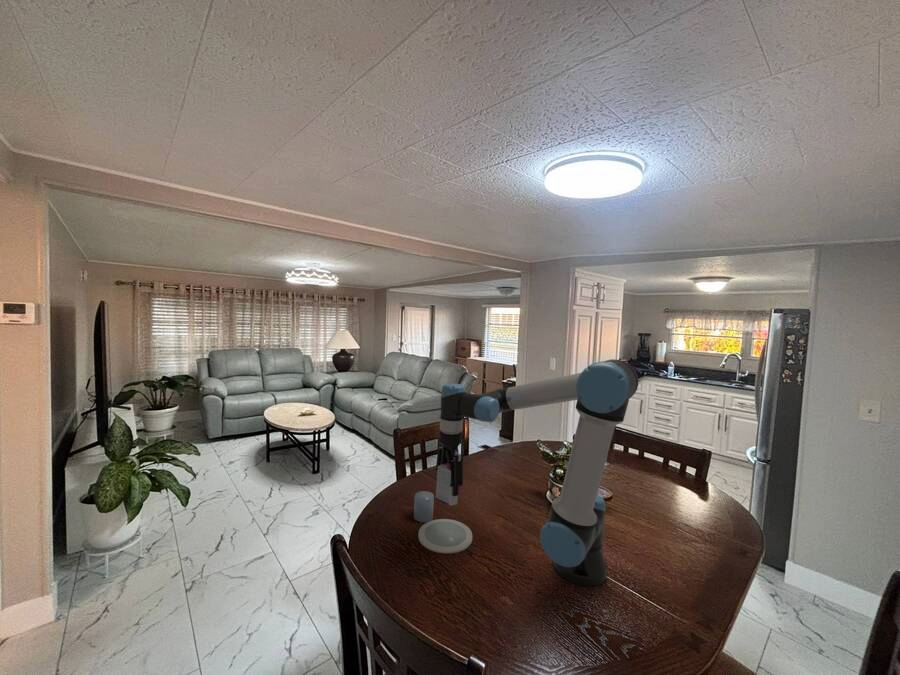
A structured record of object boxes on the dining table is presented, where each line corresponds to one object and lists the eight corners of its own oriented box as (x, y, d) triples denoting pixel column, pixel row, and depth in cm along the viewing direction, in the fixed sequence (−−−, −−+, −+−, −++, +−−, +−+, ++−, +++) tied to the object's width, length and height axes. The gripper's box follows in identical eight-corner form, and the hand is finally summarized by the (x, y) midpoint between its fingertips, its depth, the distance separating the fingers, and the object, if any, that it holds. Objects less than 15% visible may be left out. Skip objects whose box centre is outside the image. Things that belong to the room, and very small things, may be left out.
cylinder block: (436, 519, 135) (437, 498, 135) (418, 523, 132) (419, 501, 131) (428, 510, 141) (429, 489, 141) (410, 514, 138) (411, 493, 138)
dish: (482, 545, 121) (482, 541, 121) (432, 559, 113) (432, 555, 113) (456, 517, 137) (456, 514, 137) (410, 528, 129) (410, 524, 129)
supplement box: (449, 505, 120) (450, 470, 120) (435, 499, 124) (436, 465, 123) (459, 499, 125) (461, 465, 124) (445, 493, 128) (447, 460, 128)
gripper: (476, 439, 116) (472, 511, 117) (447, 421, 134) (444, 484, 135) (455, 442, 112) (451, 516, 114) (428, 423, 130) (424, 487, 132)
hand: (447, 498), depth 124 cm, fingers closed on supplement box, 7 cm apart
